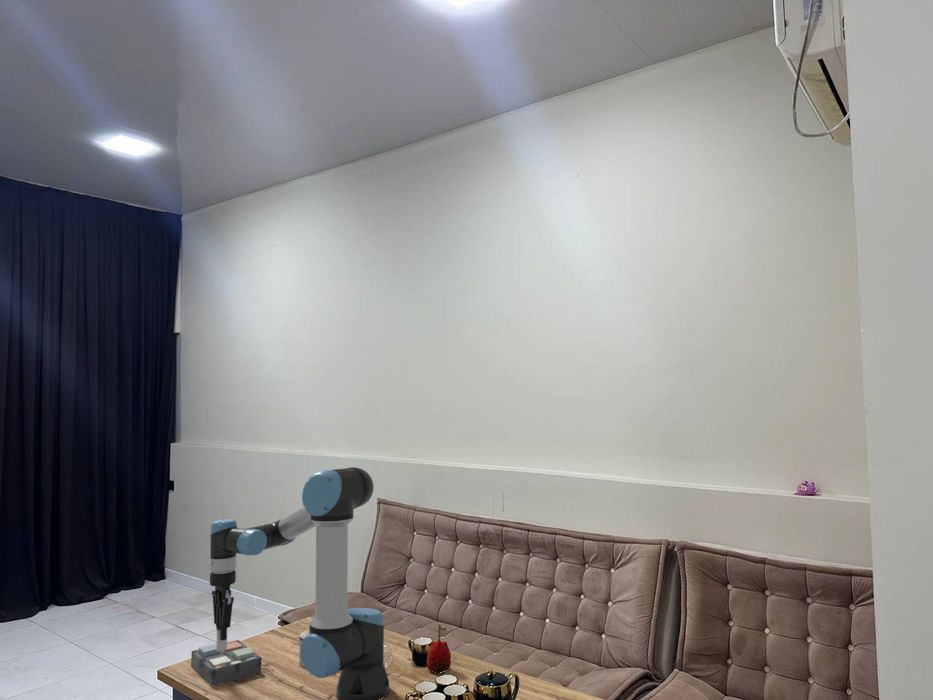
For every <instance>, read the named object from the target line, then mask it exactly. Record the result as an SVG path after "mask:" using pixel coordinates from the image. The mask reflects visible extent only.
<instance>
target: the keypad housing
mask: <svg viewBox="0 0 933 700" xmlns="http://www.w3.org/2000/svg"><path fill="white" fill-rule="evenodd" d="M232 642H238V643H239V644H240V645H242V648H239V649H243V648H247V647H248V646H247V645H246V644H245V643H243V642H242V641H241V640H239V639H236V640H232V641H229V642H228V641H227V644H228V643H232ZM239 649H235V650H239ZM235 650H231V651H227V652H226V651H224V650H223V651H220V653H219V654H215V655H211V656H207V657H202V656H201V655H200V654H199V648H198V649H194V650H191V659H190V661H191V662H190V665H191V667H192V668H193V669H194V670H195V671H196V673H197V674H198V675H200V677H201V678H202V679H203V680H204V681H205V682H207V684H208V683H209V684H210V685H211V686H212V687H214V686H213V685H216V686H219V685H222V684H221V683H223V684H226V683H229V682H228V681H230V682H233V681H236V680H235V679H237V680H240V679H239V678H241V679H243V677H244V678H247V677H246V676H248V677H251V676H254V675H253V674H255V675H258V674H261V673H262V657H261V656H260V655H259V654H257V653H256V652H255V651H253V652H254V657H250V658H247V659H244V660H239V661H236V660H235V659H234V658H233V657H232V651H235ZM223 656H226V657H228V658H229V659H230V660H231V663H229V664H224V665H220V666H216V667H213V666H212V665H211V664H210V663H209V660H211V659H215V658H219V657H223ZM250 675H251V676H250ZM232 680H233V681H232ZM225 682H226V683H225ZM209 684H208V685H209ZM218 684H219V685H218ZM211 686H210V687H211Z"/></svg>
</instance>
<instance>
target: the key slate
mask: <svg viewBox="0 0 933 700" xmlns="http://www.w3.org/2000/svg"><path fill="white" fill-rule="evenodd" d="M198 649H199V654H200V655H201V656H202V657H207V656H211V655H215V654H219V653H220V651H219V652H218V651H216V643H213V644H210V645H209V644H208V645H204V646H200V647H199V648H198Z"/></svg>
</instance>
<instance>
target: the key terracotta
mask: <svg viewBox="0 0 933 700" xmlns="http://www.w3.org/2000/svg"><path fill="white" fill-rule="evenodd" d="M231 642H232V641H231ZM227 643H228V642H227ZM239 648H242V645H240V644H239V643H238V642H232V643H228V644H227V650H224V651H226V652H227V651H231V650H235V649H239Z"/></svg>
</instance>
